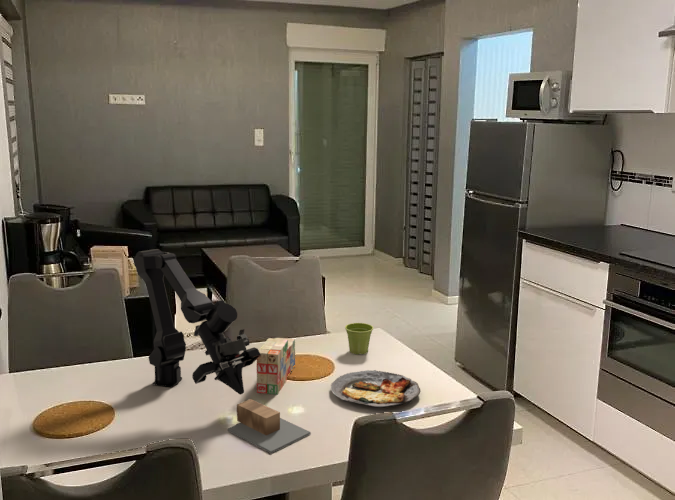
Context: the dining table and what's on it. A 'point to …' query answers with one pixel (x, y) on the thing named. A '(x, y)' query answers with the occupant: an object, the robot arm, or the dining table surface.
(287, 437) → the mat
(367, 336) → the plant pot
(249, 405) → the walnut block
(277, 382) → the stack of blocks
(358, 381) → the food plate
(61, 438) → the dining table surface
